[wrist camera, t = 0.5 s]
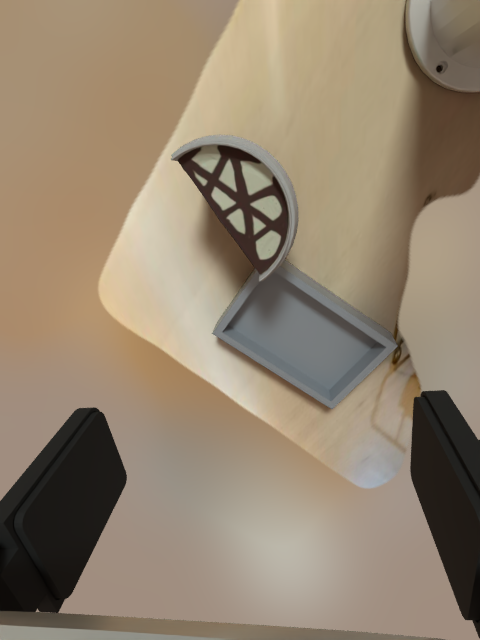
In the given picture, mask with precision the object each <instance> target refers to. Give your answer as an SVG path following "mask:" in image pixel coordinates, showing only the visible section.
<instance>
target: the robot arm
mask: <svg viewBox="0 0 480 640" xmlns="http://www.w3.org/2000/svg"><path fill="white" fill-rule="evenodd" d="M406 32H407V38H408V44H409V46H410V49H411V52H412V54H413V57H414V59H415V61H416V62H417V64H418V65H419V67H420V68H421V70H422V71H423V72H424V73H425V74H426V75H427V76H428V77H429V78H430V79H431V80H432V81H433V82H435V83H437V84H439V85H441V86H442V87H444V88H446V89H450V90H454V91H457V92H470V93H476V92H480V0H407V3H406ZM437 66H440V67H441V71H440V72H439V73H438V72H437V71H436V67H437ZM411 477H412V481H413V484H414V487H415V490H416V493H417V495H418V498H419V501H420V503H421V506H422V509H423V512H424V514H425V517H426V520H427V522H428V525H429V528H430V530H431V533H432V536H433V539H434V541H435V544H436V547H437V549H438V552H439V555H440V557H441V560H442V563H443V565H444V568H445V571H446V573H447V576H448V579H449V582H450V584H451V587H452V590H453V592H454V595H455V598H456V601H457V603H458V606H459V609H460V611H461V614H462V616H463V617H464V619H465V620H473V623H474V626H475V628H476V631H477V633H478V636H479V638H480V440H478V439H477V437H476V436H475V434H474V433H473V432H472V430H471V428H470V427H469V426H468V424H467V422H466V421H465V419H464V417H463V416H462V415H461V413H460V411H459V410H458V408H457V407H456V405H455V404H454V402H453V401H452V399H451V398H450V396H449V394H448V393H447V392H446V391H444V390H441V391H423V392H422V393H421V397H415V398H414V406H413V427H412V447H411ZM126 480H127V475H126V471H125V469H124V466H123V463H122V460H121V458H120V455H119V453H118V450H117V447H116V445H115V442H114V439H113V437H112V434H111V431H110V429H109V426H108V423H107V421H106V418H105V416H104V414H103V413H102V412H100V411H99V410H98V409H97V408H79V409H77V410H76V411H74V413H73V414H72V415H71V416H70V417H69V419H68V420H67V421H66V422H65V423H64V425H63V426H62V427H61V428H60V430H59V431H58V432H57V433H56V435H55V436H54V437H53V438H52V439H51V440H50V442H49V443H48V444H47V445H46V447H45V448H44V449H43V450H42V451H41V453H40V454H39V455H38V456H37V457H36V459H35V460H34V461H33V462H32V464H31V465H30V466H29V467H28V468H27V469H26V471H25V472H24V473H23V474H22V476H21V477H20V478H19V479H18V480H17V482H16V483H15V484H14V485H13V486H12V488H11V489H10V490H9V491H8V493H7V494H6V495H5V496H4V497H3V499H2V500H1V501H0V640H443V639H437V638H426V637H415V636H403V635H391V634H378V633H368V632H356V631H341V630H326V629H310V628H296V627H280V626H266V625H250V624H233V623H219V622H202V621H186V620H169V619H152V618H136V617H118V616H100V615H81V614H62V613H58V612H59V610H60V608H61V606H62V604H63V602H64V600H65V599H66V598H68V597H69V596H70V595H71V594H72V592H73V590H74V588H75V586H76V584H77V582H78V580H79V578H80V576H81V574H82V572H83V570H84V568H85V566H86V564H87V562H88V560H89V558H90V556H91V554H92V552H93V549H94V548H95V546H96V544H97V541H98V539H99V537H100V535H101V533H102V531H103V529H104V527H105V525H106V523H107V521H108V519H109V517H110V515H111V513H112V511H113V509H114V507H115V505H116V503H117V501H118V499H119V497H120V495H121V493H122V490H123V489H124V487H125V484H126ZM37 608H38V610H39V611H40V612H36V610H37ZM44 612H52V613H44Z"/></svg>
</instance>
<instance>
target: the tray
mask: <svg viewBox="0 0 480 640" xmlns="http://www.w3.org/2000/svg"><path fill="white" fill-rule="evenodd" d="M212 334H214V335H215V336H217V337H218V338H220V339H222V340H223V341H225V342H226V343H228V344H229V345H231V346H233V347H234V348H236V349H237V350H239V351H241V352H242V353H244V354H245V355H247V356H248V357H250V358H252V359H253V360H255V361H256V362H258V363H260V364H261V365H263V366H264V367H266V368H267V369H269V370H271V371H272V372H274V373H275V374H277V375H279V376H280V377H282V378H283V379H285V380H286V381H288V382H290V383H291V384H293V385H294V386H296V387H298V388H299V389H301V390H302V391H304V392H305V393H307V394H309V395H310V396H312V397H313V398H315V399H316V400H318V401H320V402H321V403H323V404H324V405H326V406H328V407H329V408H331V409H333V408H334V407H335V406H336V405H337V404H338V403H339V402H340V401H341V400H342V399H343V398H344V397H345V396H347V395H348V394H349V393H350V392H351V391H352V390H353V389H354V388H355V387H356V386H357V385H358V384H359V383H360V382H361V381H362V380H363V379H364V378H365V377H366V376H367V375H368V374H369V373H371V372H372V371H373V370H374V369H375V368H376V367H377V366H378V365H379V364H380V363H381V362H382V361H383V360H384V359H385V358H386V357H387V356H388V355H389V354H390V353H391V352H392V351H393V350H395V349H396V348H397V347H398V345H397V344H396V342H395V340H394V338H393V336H392V334H391V333H390V332H389V331H387V330H386V329H385V328H383V327H382V326H380V325H379V324H377V323H376V322H374V321H373V320H371V319H370V318H368V317H367V316H366V315H364V314H363V313H361V312H360V311H358V310H357V309H355V308H354V307H352V306H351V305H350V304H348V303H347V302H345V301H344V300H342V299H341V298H339V297H338V296H336V295H335V294H334V293H332V292H331V291H329V290H328V289H326V288H325V287H323V286H322V285H320V284H319V283H317V282H316V281H315V280H313V279H312V278H310V277H309V276H307V275H306V274H304V273H303V272H301V271H300V270H299V269H297V268H296V267H294V266H293V265H291V264H290V263H288V262H287V261H285V260H284V261H283V262H282V264H281V265H280V266H279V267H278V268H277V269H276V270H275V271H274V272H273V273H272V274H271V275H270V276H269V277H267V278H266V279H265V280H264V281H260V282H259V273H258V271H257V270H256V268H255V269H254V271H253V272H252V273H251V275H250V276H249V278H248V279H247V281H246V282H245V283H244V285H243V286H242V288H241V289H240V290H239V292H238V293H237V295H236V296H235V298H234V299H233V300H232V302H231V303H230V305H229V306H228V307H227V309H226V310H225V312H224V313H223V315H222V316H221V317H220V319H219V320H218V322H217V324H216V326H215V328H214V331H213V333H212Z"/></svg>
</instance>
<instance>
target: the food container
mask: <svg viewBox="0 0 480 640" xmlns="http://www.w3.org/2000/svg"><path fill="white" fill-rule="evenodd" d="M171 156H172V158H171V160H174V161H178V162H179V163H180V164H181V166H182V168H183V169H184V170H185V171H186V173H187V174H188V175H189V176H190V178H191V179H192V181H193V182H194V183H195V185H196V186H197V188H198V189H199V191H200V192H201V193H202V195H203V196H204V198H205V199H206V201H207V202H208V203H209V205H210V206H211V208H212V209H213V211H214V212H215V214H216V215H217V217H218V218H219V220H220V221H221V223H222V224H223V225H224V227H225V228H226V229H227V230H228V232H229V233H230V234H231V236H232V237H233V238H234V240H235V241H236V242H237V244H238V245H239V246H240V248H241V249H242V250H243V252H244V253H245V255H246V256H247V257H248V259H249V260H250V262H251V263H252V264H253V266H254V267H255V268H256V270H257V271H258V273H259V282H260V281H264V280H265V279H266V278H267V277H269V276H270V275H271V274H272V273H273V272H274V271H275V270H276V269H277V268H278V267H279V266H280V265H281V264H282V262H283V261H284V260H285V258H286V257H287V255H288V253H289V251H290V249H291V247H292V245H293V243H294V239H295V236H296V233H297V226H298V204H297V199H296V194H295V191H294V188H293V185H292V182H291V181H290V179H289V177H288V175H287V173H286V171H285V170H284V169H283V167H282V166H281V165H280V163H279V162H278V161H277V160H276V159H275V158H274V157H273V156H272V155H271V154H270V153H269V152H268V151H266V150H265V149H263V148H262V147H260V146H259V145H257V144H255V143H253V142H251V141H249V140H247V139H244V138H240V137H236V136H231V135H212V136H205V137H202V138H199V139H195V140H193V141H191V142H189V143H187V144H185V145H183V146H182V147H180V148H179V149H178V150H176V151H175V152H174V153H173V154H172V155H171Z"/></svg>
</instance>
